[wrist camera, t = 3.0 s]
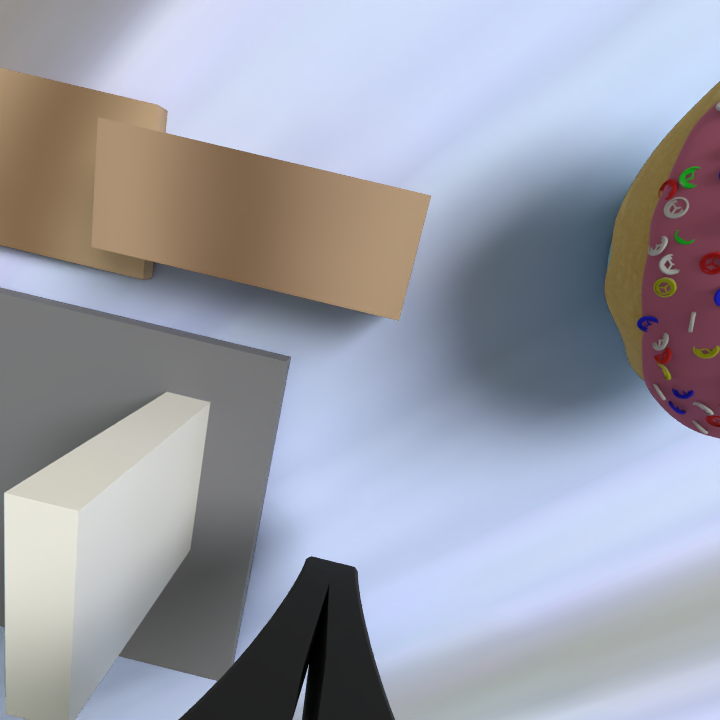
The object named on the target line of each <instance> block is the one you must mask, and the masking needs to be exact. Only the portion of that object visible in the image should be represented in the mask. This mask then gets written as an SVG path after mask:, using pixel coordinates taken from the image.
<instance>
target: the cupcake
mask: <svg viewBox="0 0 720 720" xmlns="http://www.w3.org/2000/svg"><path fill="white" fill-rule="evenodd" d="M604 289H605V298H606V302H607V305H608V308H609V310H610V312H611V315H612V317H613V319H614V321H615V323H616V325H617V327H618V330H619V332H620V334H621V337H622V339H623V342H624V345H625V350H626V354H627V358H628V361H629V363H630V365H631V367H632V368H633V370H634V371H635V372H636V373H637V374H638V375H639V376H640V377H641V378H642V379H643V380H644V381H645V383H646V385H647V387H648V389H649V391H650V392H651V394H652V395H653V397H654V398H655V399H656V401H657V402H658V403H659V404H660V405H661V406H662V407H663V408H664V409H665V410H666V411H667V412H668V413H669V414H670V415H671V416H672V417H674V418H675V419H676V420H677V421H679V422H680V423H682V424H683V425H685V426H687V427H688V428H690V429H692V430H694V431H697V432H699V433H702V434H704V435H708V436H712V437H716V438H720V82H719V83H717V84H716V85H715V86H714V87H713V88H712V89H711V90H710V91H709V92H708V93H707V94H706V95H705V96H704V97H703V98H702V99H701V100H700V101H699V102H698V103H697V104H696V105H695V106H694V107H693V108H692V109H691V110H690V111H689V112H688V113H687V114H686V115H685V116H684V117H683V118H682V119H681V120H680V121H679V122H678V123H677V124H676V125H675V126H674V128H673V129H672V130H671V131H670V132H669V133H668V134H667V135H666V137H665V138H664V139H663V140H662V141H661V143H660V144H659V145H658V146H657V148H656V149H655V150H654V152H653V153H652V154H651V156H650V157H649V159H648V160H647V161H646V163H645V164H644V166H643V167H642V169H641V170H640V172H639V173H638V175H637V176H636V178H635V180H634V181H633V183H632V185H631V187H630V188H629V190H628V192H627V194H626V196H625V198H624V200H623V202H622V205H621V207H620V209H619V212H618V214H617V217H616V220H615V224H614V231H613V238H612V243H611V246H610V250H609V256H608V269H607V273H606V278H605V287H604Z"/></svg>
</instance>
